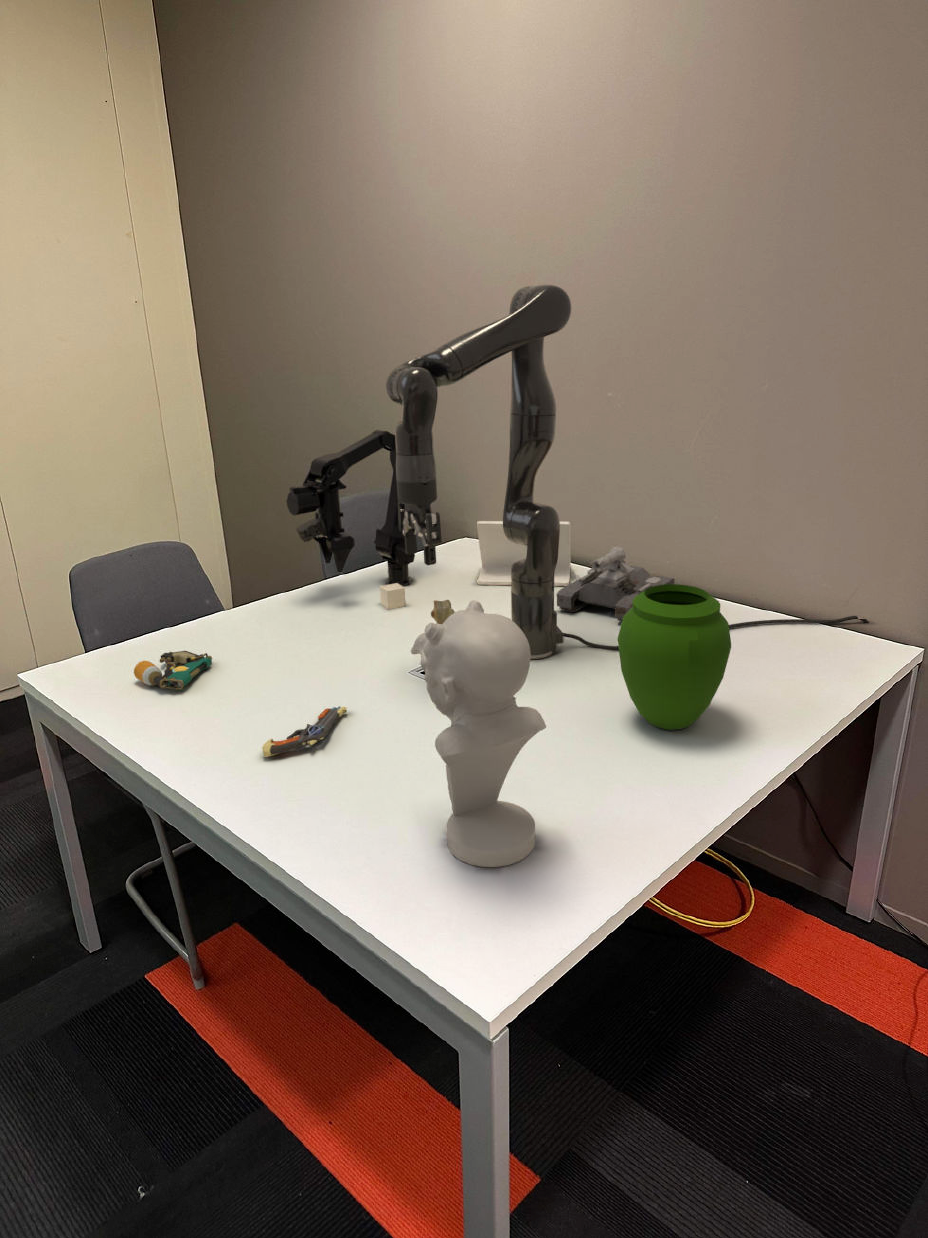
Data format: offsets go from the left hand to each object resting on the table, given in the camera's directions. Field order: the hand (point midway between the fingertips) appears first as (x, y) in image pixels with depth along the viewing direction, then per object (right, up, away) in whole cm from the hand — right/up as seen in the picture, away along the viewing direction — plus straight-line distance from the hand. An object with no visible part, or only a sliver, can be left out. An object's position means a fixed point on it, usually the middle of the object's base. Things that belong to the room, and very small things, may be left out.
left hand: (333, 567), depth 221 cm
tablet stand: (+51, -1, +18) cm, 54 cm away
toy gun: (+5, -35, -67) cm, 75 cm away
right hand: (+25, -2, -55) cm, 60 cm away
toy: (+72, -10, -7) cm, 73 cm away
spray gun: (-27, -26, -40) cm, 55 cm away
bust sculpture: (+35, -45, -96) cm, 112 cm away
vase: (+71, -32, -66) cm, 102 cm away
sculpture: (+30, -24, -42) cm, 57 cm away
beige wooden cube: (+16, -10, -2) cm, 19 cm away
